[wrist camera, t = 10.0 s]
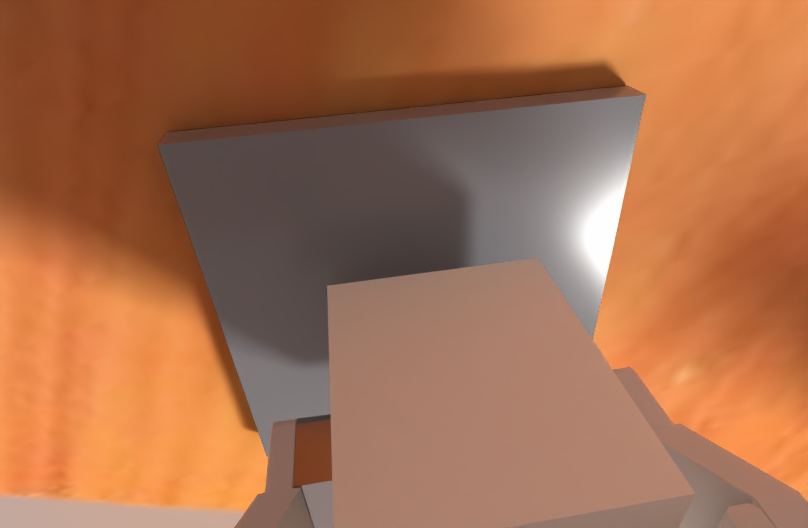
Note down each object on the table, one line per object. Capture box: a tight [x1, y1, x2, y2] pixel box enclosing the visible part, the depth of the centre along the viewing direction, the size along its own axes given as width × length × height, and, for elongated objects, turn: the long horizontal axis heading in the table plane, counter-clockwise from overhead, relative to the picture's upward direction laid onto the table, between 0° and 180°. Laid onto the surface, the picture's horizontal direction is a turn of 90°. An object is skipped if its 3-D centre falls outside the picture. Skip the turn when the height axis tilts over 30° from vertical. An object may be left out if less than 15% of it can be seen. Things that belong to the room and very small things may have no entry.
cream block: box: [327, 258, 695, 528], centre depth 11 cm, size 5×5×6 cm
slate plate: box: [157, 86, 646, 457], centre depth 14 cm, size 11×11×1 cm
